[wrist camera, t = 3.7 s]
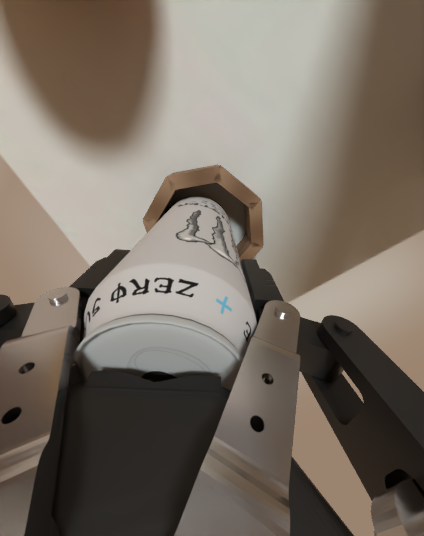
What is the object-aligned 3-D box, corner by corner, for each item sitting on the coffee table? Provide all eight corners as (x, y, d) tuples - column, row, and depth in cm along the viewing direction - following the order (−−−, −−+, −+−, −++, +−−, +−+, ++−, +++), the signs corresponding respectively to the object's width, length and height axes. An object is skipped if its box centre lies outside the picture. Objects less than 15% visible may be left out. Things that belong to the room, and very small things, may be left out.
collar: (190, 140, 15) (186, 138, 13) (278, 212, 18) (287, 220, 16) (137, 235, 19) (128, 245, 17) (216, 282, 22) (217, 296, 20)
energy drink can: (242, 219, 18) (319, 368, 5) (206, 266, 21) (195, 451, 7) (187, 179, 17) (87, 244, 3) (155, 235, 19) (24, 400, 6)
